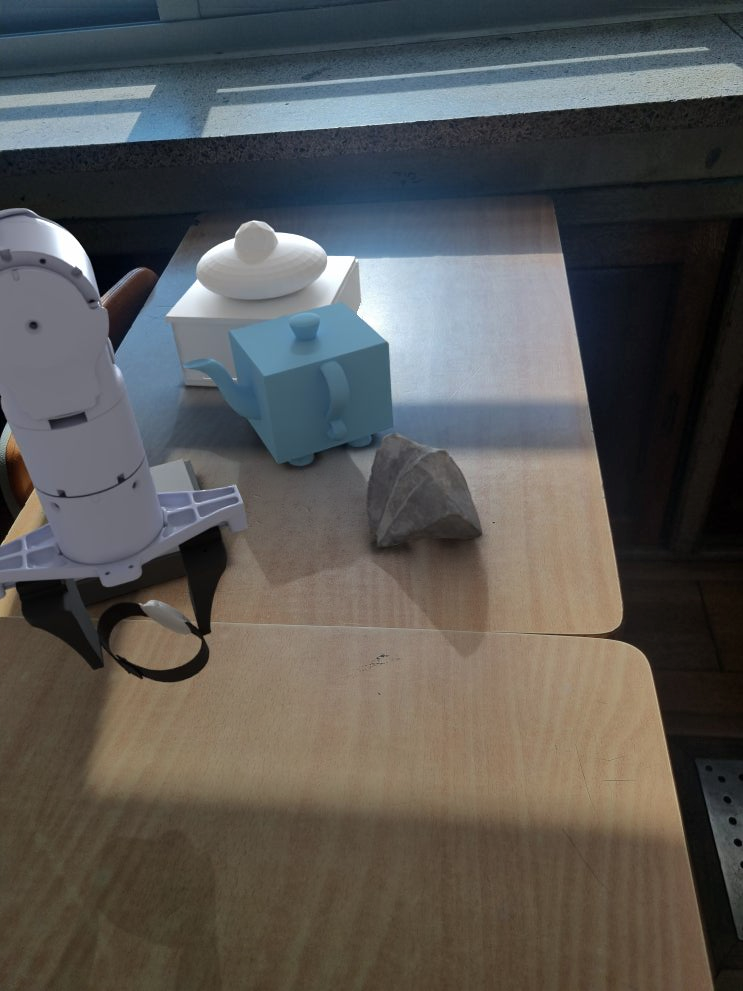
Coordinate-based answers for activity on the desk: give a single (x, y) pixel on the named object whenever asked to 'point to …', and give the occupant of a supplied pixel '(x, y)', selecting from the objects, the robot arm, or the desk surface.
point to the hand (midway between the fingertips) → (150, 640)
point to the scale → (163, 566)
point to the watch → (167, 619)
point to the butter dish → (255, 291)
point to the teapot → (308, 381)
